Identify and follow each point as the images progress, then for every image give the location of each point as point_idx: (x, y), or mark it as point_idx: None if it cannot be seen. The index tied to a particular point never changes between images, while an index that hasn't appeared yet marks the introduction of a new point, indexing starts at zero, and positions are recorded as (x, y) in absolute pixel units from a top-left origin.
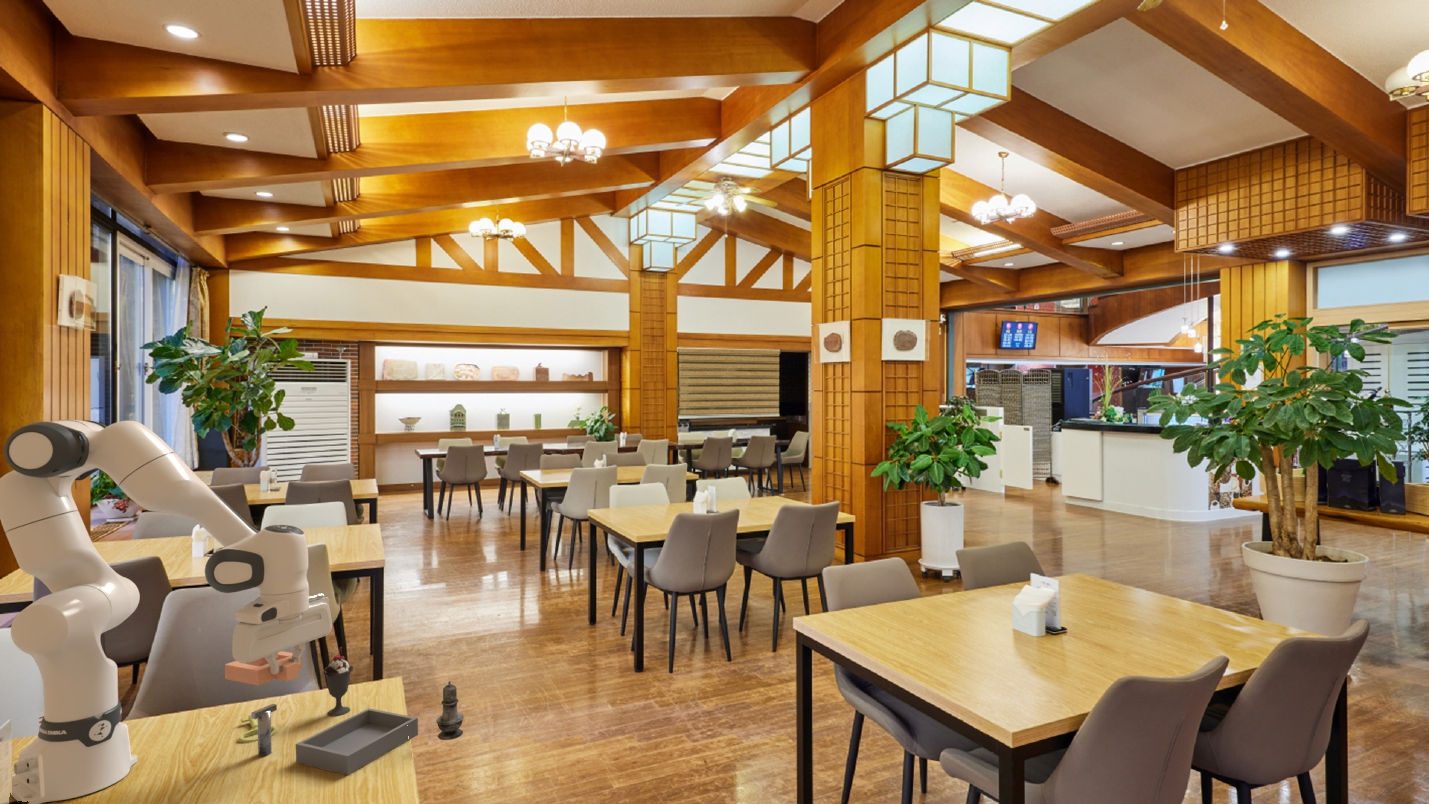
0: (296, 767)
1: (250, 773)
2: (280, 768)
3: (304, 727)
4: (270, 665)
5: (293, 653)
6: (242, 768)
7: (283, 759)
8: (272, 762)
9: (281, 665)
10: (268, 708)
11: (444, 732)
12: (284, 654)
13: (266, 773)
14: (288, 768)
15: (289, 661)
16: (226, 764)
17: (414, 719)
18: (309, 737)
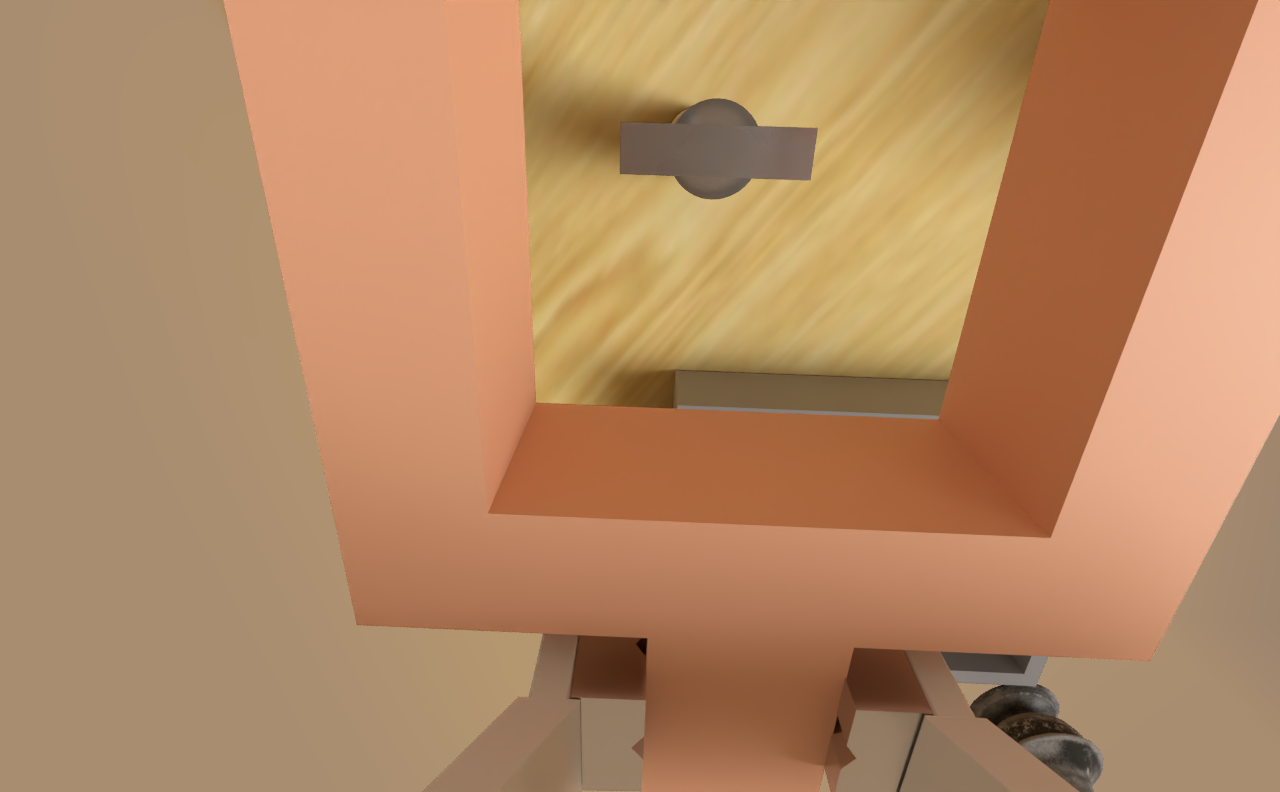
0: (643, 406)
1: (531, 263)
2: (613, 351)
3: (1029, 55)
4: (531, 689)
5: (980, 771)
6: (546, 177)
7: (679, 291)
8: (641, 266)
9: (620, 770)
10: (736, 177)
11: (1012, 707)
12: (1165, 376)
13: (559, 332)
14: (625, 382)
15: (822, 709)
16: (541, 42)
17: (1018, 683)
18: (755, 410)
